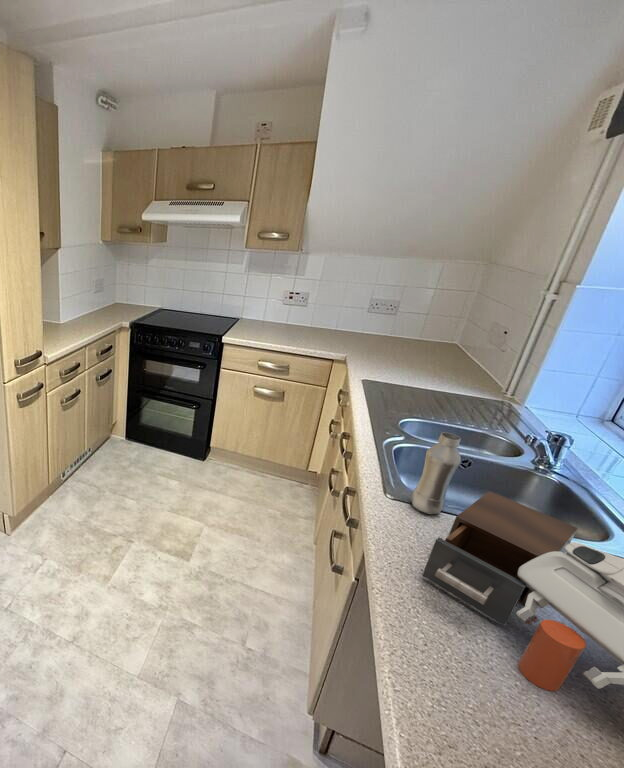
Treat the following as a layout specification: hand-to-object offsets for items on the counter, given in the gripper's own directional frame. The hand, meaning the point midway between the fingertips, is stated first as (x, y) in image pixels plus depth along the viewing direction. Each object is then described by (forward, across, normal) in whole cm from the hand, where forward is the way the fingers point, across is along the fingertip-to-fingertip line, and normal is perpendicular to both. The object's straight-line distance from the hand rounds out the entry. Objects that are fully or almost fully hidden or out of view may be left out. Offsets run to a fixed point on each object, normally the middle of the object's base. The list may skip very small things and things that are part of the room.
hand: (553, 648), depth 61 cm
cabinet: (-6, +21, -15) cm, 27 cm away
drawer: (+1, +15, -6) cm, 17 cm away
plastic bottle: (-5, +39, -14) cm, 42 cm away
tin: (+4, 0, -4) cm, 6 cm away
